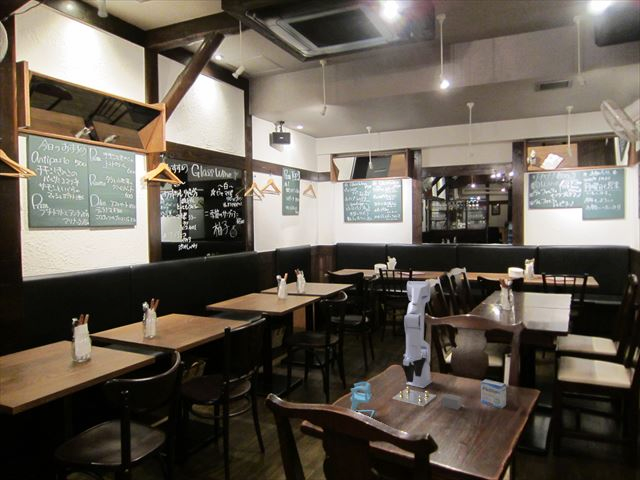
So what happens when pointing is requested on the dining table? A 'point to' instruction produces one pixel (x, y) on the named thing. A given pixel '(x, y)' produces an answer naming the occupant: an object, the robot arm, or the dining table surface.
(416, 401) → the plate with brass knobs
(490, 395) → the medicine box
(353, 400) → the chair
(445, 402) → the plain grey block
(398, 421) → the dining table surface
